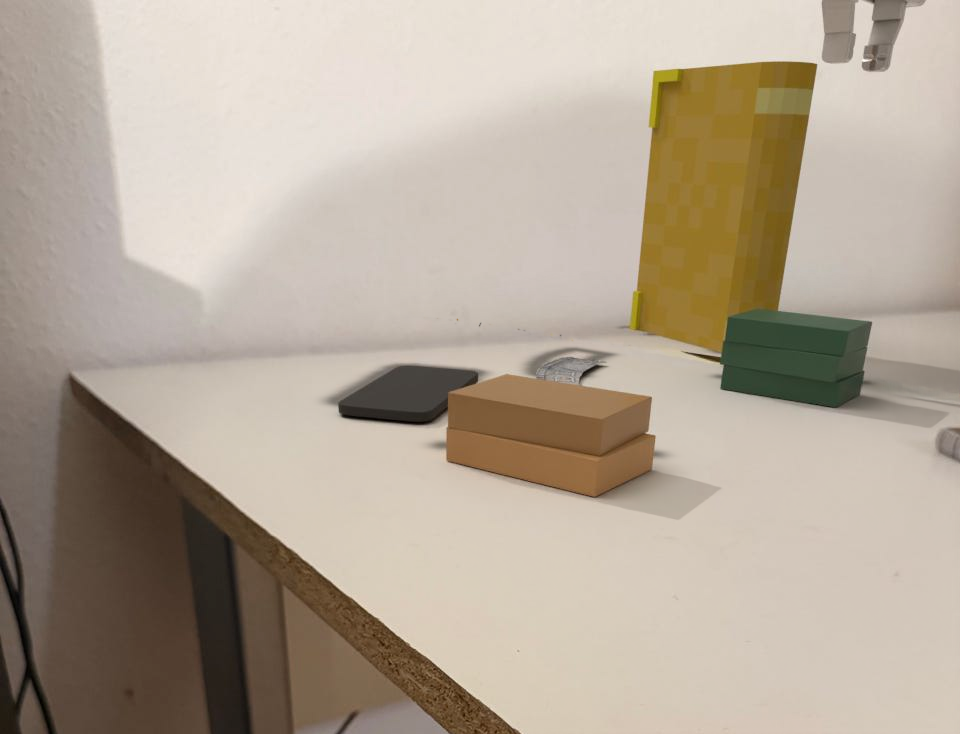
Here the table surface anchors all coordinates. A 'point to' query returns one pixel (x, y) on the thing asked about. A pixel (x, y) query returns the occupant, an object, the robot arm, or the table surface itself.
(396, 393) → the phone
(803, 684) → the table surface
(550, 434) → the tan stack
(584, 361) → the coin fragment
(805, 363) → the green stack
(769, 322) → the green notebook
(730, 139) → the book
